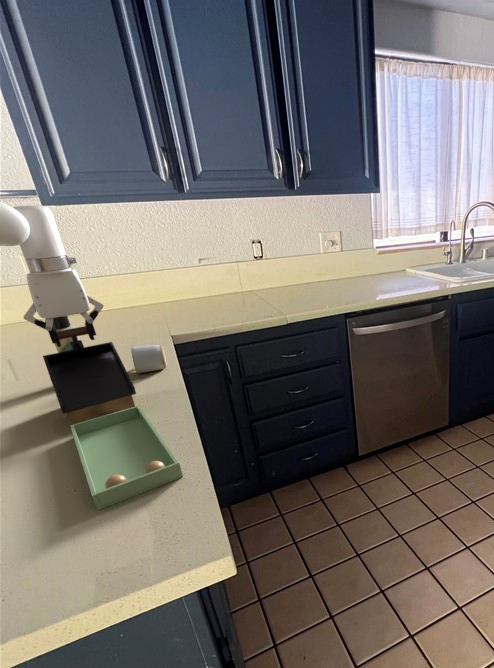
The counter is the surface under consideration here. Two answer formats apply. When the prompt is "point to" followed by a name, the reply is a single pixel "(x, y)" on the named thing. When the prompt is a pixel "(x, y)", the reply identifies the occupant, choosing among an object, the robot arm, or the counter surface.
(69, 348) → the lotion bottle
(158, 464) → the ball
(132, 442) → the tray
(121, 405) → the stand
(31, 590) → the counter surface
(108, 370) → the pan
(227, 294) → the counter surface
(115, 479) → the ball
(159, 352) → the ceramic mug
